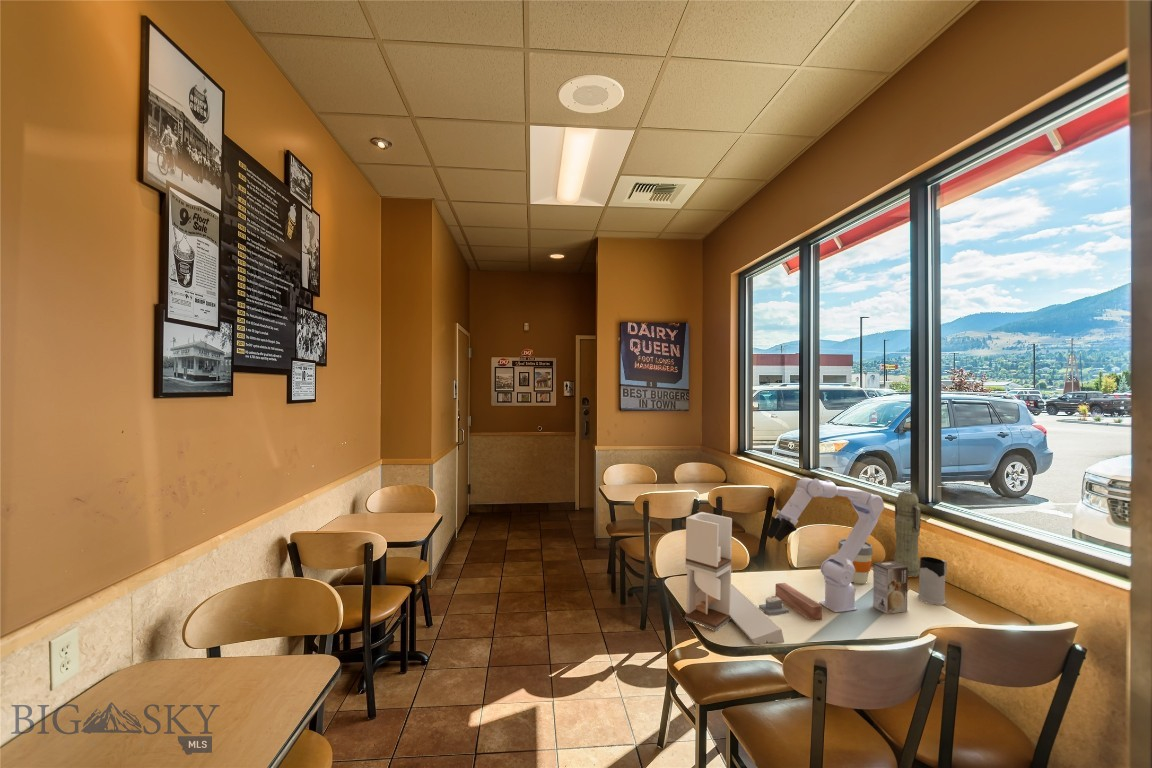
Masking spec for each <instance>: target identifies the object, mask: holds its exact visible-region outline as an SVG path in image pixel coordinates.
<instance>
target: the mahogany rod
mask: <svg viewBox="0 0 1152 768" xmlns="http://www.w3.org/2000/svg"><path fill="white" fill-rule="evenodd" d="M774 595H775V597H779V598H780V599H782V603H785V604H786V605H787V606H789V607H791V608H792V609H794V610H795V611H797V612H798V613H800V614H801V615H803V616H804V617H806V618H807V619H808V620H810V621H811V622H816V621H817V622H818V621H823V605H822V604H820V603H818V602H817V601H814V600H813V599H812V598H810V597H808V596H807V595H805V594H804V593H801V592H800V591H798V590H797V589H795V588H794V587H792V586H791V585H789V584H787V583H786V582H781V583H775V594H774Z"/></svg>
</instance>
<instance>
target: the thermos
mask: <svg viewBox="0 0 1152 768" xmlns="http://www.w3.org/2000/svg"><path fill="white" fill-rule="evenodd" d="M921 513H922V511H921V508H920V506H919V498H918V496H917V493H915V492H913V491H900V492H899V493H898V495H897V498H896V501H895V504H894V532H895V554H894V556H893V557H894V558H893V559H894V561H893V562H896V563H898V564H901V565H903V566H906V567H908V576H912V577H915V576H918V575H919V571H920V559H919V536H920V533H921V532H920V531H921V517H922V516H921ZM918 577H919V576H918Z"/></svg>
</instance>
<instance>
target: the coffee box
mask: <svg viewBox="0 0 1152 768" xmlns="http://www.w3.org/2000/svg"><path fill="white" fill-rule="evenodd" d="M872 573H873V574H872V575H873V578H872V580H873V581H872V582H873V584H872V587H873V588H872V589H873V590H872V591H873V592H872V593H873V597H872V598H873V599H872V600H873V601H872V606H873V608H875V609H877V610H879V611H881V612H883V613H885V614H887V615H890V614H897V613H902V612H903V613H904V612H908V580H909V579H908V578H909V577H908V567H906V566H903V565H901V564H898V563H896V562H894V561H882V562H873V572H872Z"/></svg>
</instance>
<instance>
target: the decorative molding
mask: <svg viewBox="0 0 1152 768" xmlns="http://www.w3.org/2000/svg"><path fill="white" fill-rule="evenodd" d="M730 618H731V619H732V620H731V619H730V620H731V621H732V622H733V623H734V625H736V626H737V628H739V630H741V632H742V633H743V634H744V633H745V634H746V635H745V636H747V638H748V639H749V640H750V641H751V642H752V643H753V645H758V644H759V645H765V644H770V643H775V644H781V643H783V644H784V643H785V638H784V634H783V631H782V628H781V627H780V626H778V625H777V624H776V622H774V621H773V620H772V619H771V618H770V617H769V616H768V615H767V614H766V613H765V612H764V611H763V610H761V609H760V608H759V606H758V607H757V605H756V604H754V603H753V602H752V600H750V598H748V597H746V595H745V594H743V593H742V592H741V591H740V590H739V589H738V588H737V587H735V585H733V584H732V583H731V612H730Z"/></svg>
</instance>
